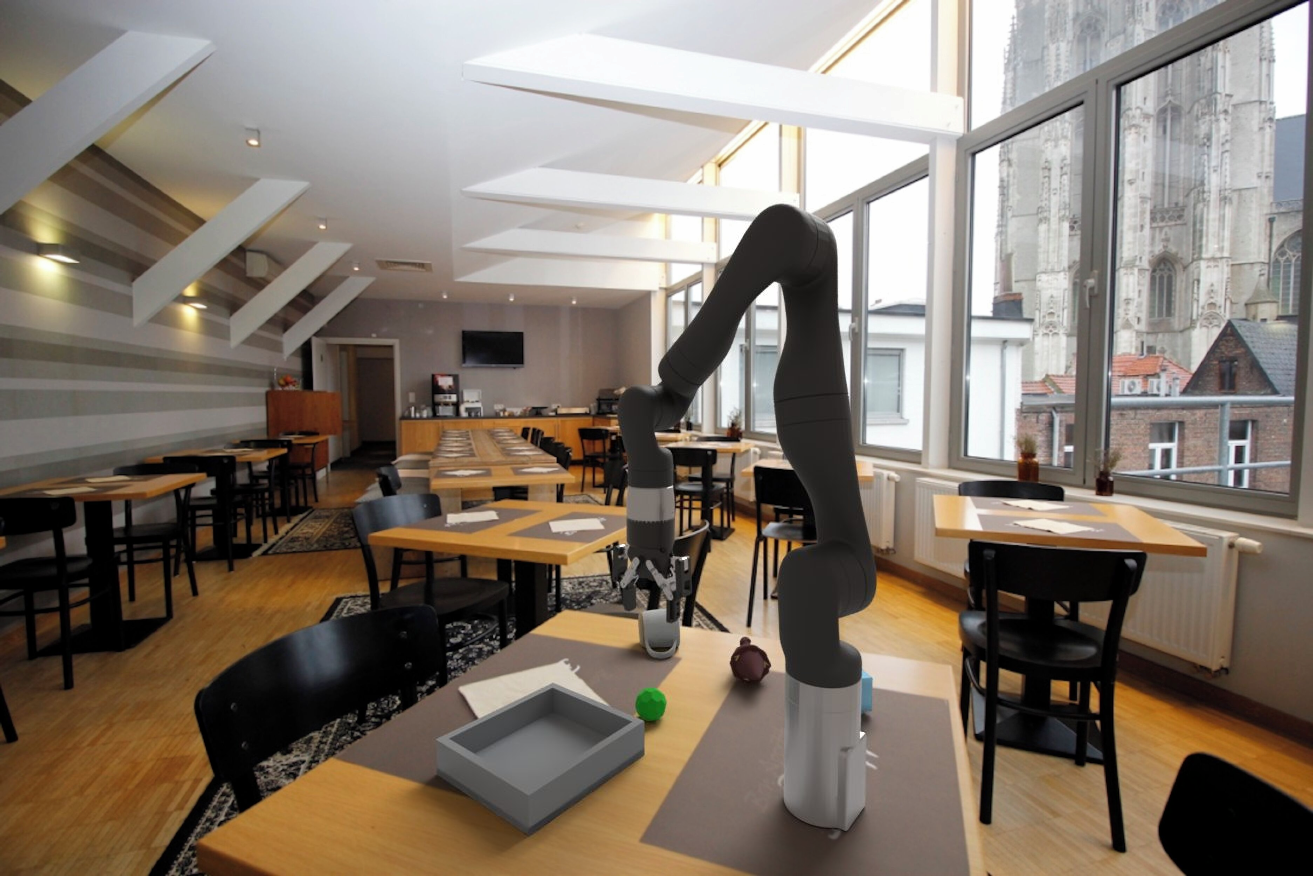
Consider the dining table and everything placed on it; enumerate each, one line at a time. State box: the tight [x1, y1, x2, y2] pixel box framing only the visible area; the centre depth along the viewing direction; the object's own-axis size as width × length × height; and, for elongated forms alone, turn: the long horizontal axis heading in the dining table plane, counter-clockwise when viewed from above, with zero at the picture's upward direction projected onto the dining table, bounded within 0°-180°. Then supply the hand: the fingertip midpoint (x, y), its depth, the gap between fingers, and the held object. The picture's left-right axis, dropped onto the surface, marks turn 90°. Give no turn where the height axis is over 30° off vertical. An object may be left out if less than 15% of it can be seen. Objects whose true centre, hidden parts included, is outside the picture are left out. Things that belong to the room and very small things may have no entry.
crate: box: [435, 682, 646, 837], centre depth 88 cm, size 19×21×5 cm
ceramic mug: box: [637, 608, 681, 660], centre depth 128 cm, size 11×8×8 cm
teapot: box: [861, 668, 874, 715], centre depth 105 cm, size 12×6×8 cm, turn 11°
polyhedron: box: [634, 686, 668, 722], centre depth 100 cm, size 5×5×5 cm
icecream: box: [729, 636, 772, 684], centre depth 113 cm, size 7×7×15 cm
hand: (650, 615), depth 99 cm, fingers open, 8 cm apart
